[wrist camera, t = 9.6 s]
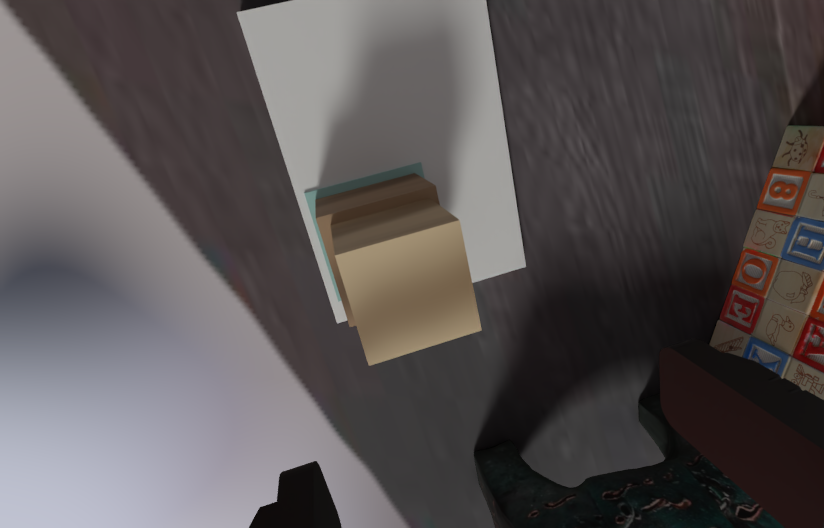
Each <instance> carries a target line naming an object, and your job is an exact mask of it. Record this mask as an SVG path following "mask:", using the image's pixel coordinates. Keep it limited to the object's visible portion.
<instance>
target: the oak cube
mask: <svg viewBox="0 0 824 528" xmlns="http://www.w3.org/2000/svg"><path fill="white" fill-rule="evenodd" d="M330 226H331V233H332V240H333V247H334V254H335V258H336V261H337V264H338V268H339V271H340V274H341V277H342V280H343V284H344V287H345V290H346V293H347V297H348V300H349V303H350V306H351V310H352V313H353V316H354V319H355V322H356V326H357V329H358V332H359V335H360V339H361V342H362V345H363V348H364V351H365V355H366V358H367V361H368V364H369V366H370V365H373V364H376V363H380V362H383V361H386V360H389V359H392V358H395V357H399V356H402V355H405V354H408V353H411V352H414V351H418V350H421V349H424V348H427V347H430V346H433V345H437V344H440V343H443V342H446V341H449V340H453V339H456V338H459V337H462V336H465V335H468V334H472V333H475V332H478V331H481V330H482V329H481V324H480V319H479V314H478V309H477V304H476V299H475V294H474V289H473V284H472V279H471V274H470V269H469V264H468V259H467V254H466V249H465V244H464V239H463V234H462V229H461V224H460V220H459V219H458V218H456V217H455V216H453V215H452V214H451V213H449V212H448V211H447V210H445V209H444V208H443V207H441V206H440V205H439V204H437V203H436V202H434V201H433V200H432V199H430V198H427V199H423V200H420V201H416V202H413V203H409V204H405V205H402V206H398V207H395V208H391V209H387V210H384V211H380V212H376V213H373V214H369V215H366V216H362V217H358V218H355V219H351V220H348V221H344V222H340V223H337V224H333V225H330Z"/></svg>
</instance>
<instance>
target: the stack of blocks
mask: <svg viewBox="0 0 824 528" xmlns="http://www.w3.org/2000/svg"><path fill="white" fill-rule="evenodd" d="M743 247H744V248H743V251H742V253H741V256H740V259H739V263H738V265H737V268H736V271H735V274H734V276H733V279H732V285H731V286H730V289H729V292H728V295H727V297H726V300H725V303H724V306H723V309H722V312H721V314H720V319H719V320H718V321H717V324H716V327H715V330H714V333H713V335H712V338H711V341H710V344H709V345H710V346H712V347H714V348H715V349H717V350H719V351H720V352H722V353H731V354H734V355H737V356H740V357H743V358H746V359H750V360H753V361H756V362H758V363H759V364H761V365H763V366H765V367H766V368H768V369H770V370H772V371H773V372H775V373H777V374H779V375H780V377H781V378H782V379H783V378H786V379H787V380H789V381H791V382H793V383H794V384H796V385H798V386H800V388H801V390H803V391H804V390H807V391H808V392H810V393H812V394H814V395H815V396H817V397H819V398H821V399H822V400H824V126H787V128H786V130H785V133H784V136H783V139H782V141H781V144H780V147H779V150H778V152H777V155H776V158H775V161H774V163H773V166H772V168H771V169H770V172H769V175H768V177H767V180H766V183H765V186H764V188H763V191H762V194H761V197H760V200H759V202H758V205H757V209H756V211H755V213H754V216H753V219H752V221H751V224H750V227H749V230H748V233H747V235H746V238H745V241H744V244H743Z"/></svg>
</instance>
